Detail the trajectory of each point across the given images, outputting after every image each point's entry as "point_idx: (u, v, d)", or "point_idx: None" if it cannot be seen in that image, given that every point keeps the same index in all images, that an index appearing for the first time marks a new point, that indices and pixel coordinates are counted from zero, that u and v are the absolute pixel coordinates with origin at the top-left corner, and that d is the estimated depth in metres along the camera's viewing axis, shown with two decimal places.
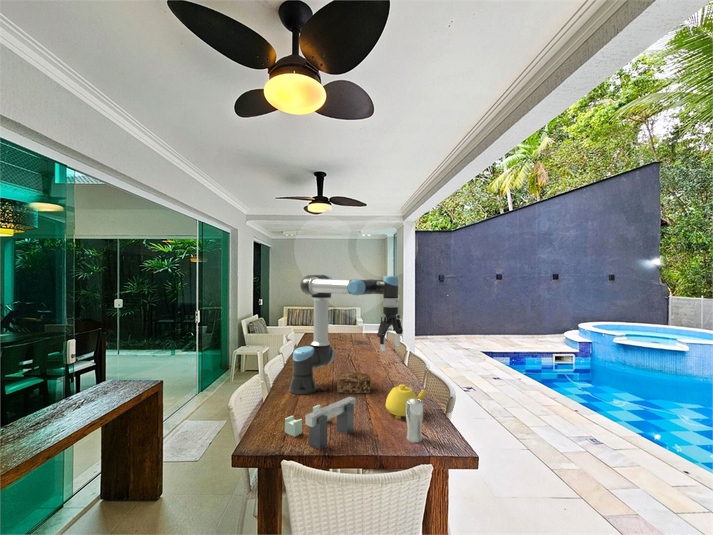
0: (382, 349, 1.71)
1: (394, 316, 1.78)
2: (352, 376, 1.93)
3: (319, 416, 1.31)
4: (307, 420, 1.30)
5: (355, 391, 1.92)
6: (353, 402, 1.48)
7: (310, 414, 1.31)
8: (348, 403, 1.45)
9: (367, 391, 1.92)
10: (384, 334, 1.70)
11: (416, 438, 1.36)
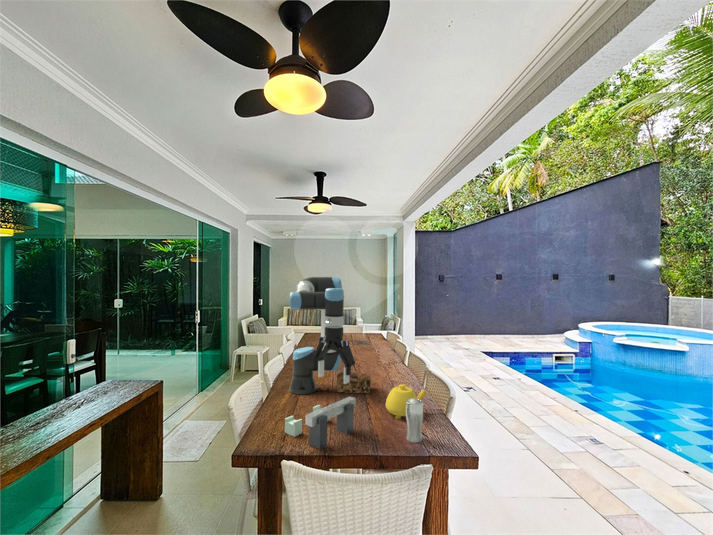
0: None
1: (335, 340, 1.38)
2: (352, 376, 1.93)
3: (319, 416, 1.31)
4: (307, 420, 1.30)
5: (355, 391, 1.92)
6: (353, 402, 1.48)
7: (310, 414, 1.31)
8: (348, 403, 1.45)
9: (367, 391, 1.92)
10: (318, 357, 1.44)
11: (416, 438, 1.36)
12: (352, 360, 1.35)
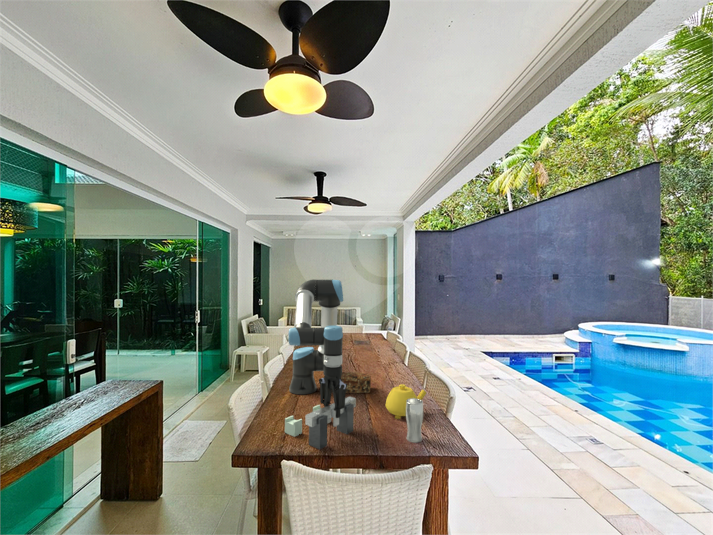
0: None
1: (335, 378, 1.38)
2: (352, 376, 1.94)
3: (319, 416, 1.31)
4: (307, 420, 1.30)
5: (355, 391, 1.92)
6: (353, 402, 1.48)
7: (310, 414, 1.31)
8: (348, 403, 1.45)
9: (367, 391, 1.92)
10: (324, 402, 1.41)
11: (416, 438, 1.36)
12: (343, 404, 1.36)
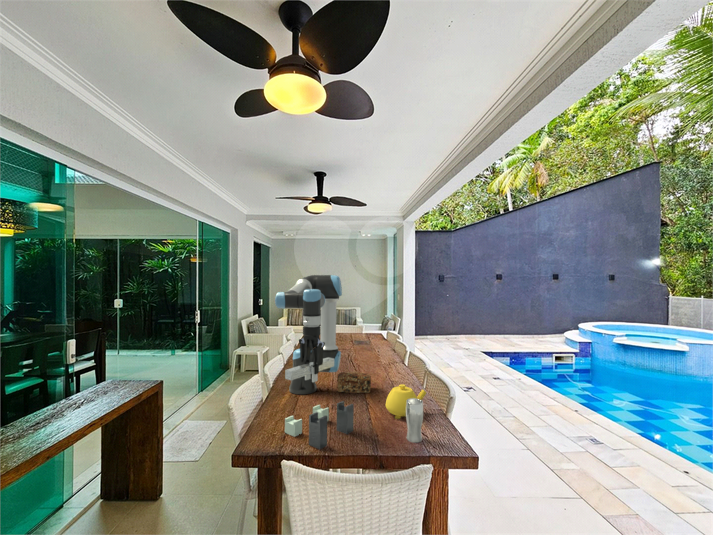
0: None
1: (313, 337, 1.47)
2: (352, 376, 1.94)
3: (298, 371, 1.41)
4: (287, 374, 1.39)
5: (355, 391, 1.93)
6: (331, 362, 1.57)
7: (289, 369, 1.41)
8: (326, 362, 1.55)
9: (367, 391, 1.93)
10: (304, 360, 1.50)
11: (416, 438, 1.36)
12: (321, 361, 1.46)
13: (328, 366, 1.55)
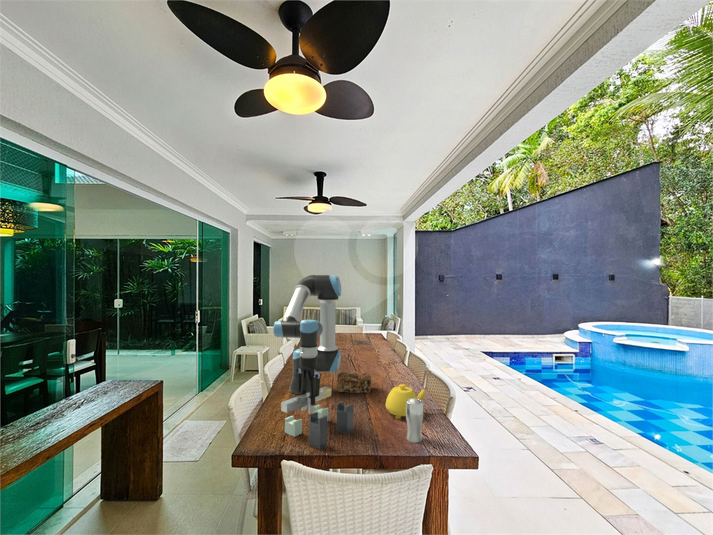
0: None
1: (310, 368, 1.48)
2: (352, 376, 1.94)
3: (294, 403, 1.41)
4: (283, 407, 1.40)
5: (355, 391, 1.93)
6: (328, 391, 1.58)
7: (286, 401, 1.41)
8: (323, 392, 1.55)
9: (367, 391, 1.93)
10: (300, 391, 1.51)
11: (416, 438, 1.36)
12: (317, 392, 1.47)
13: (325, 396, 1.56)
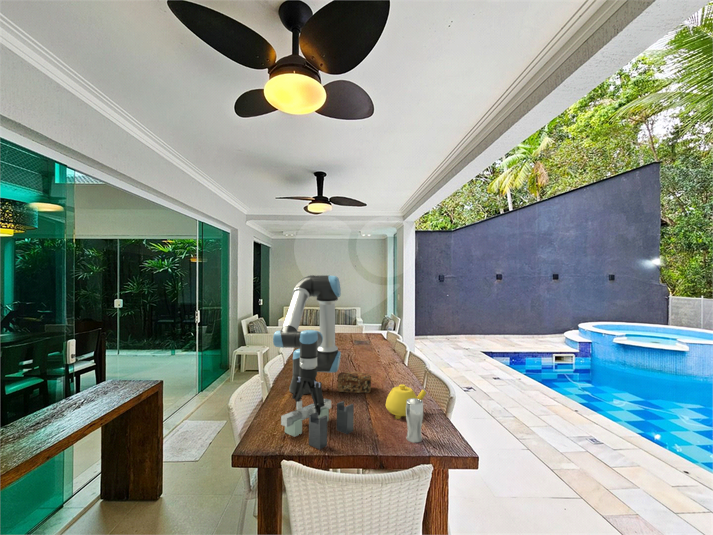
0: None
1: (309, 380, 1.48)
2: (353, 375, 1.94)
3: (294, 417, 1.41)
4: (282, 421, 1.40)
5: (356, 390, 1.93)
6: (328, 404, 1.57)
7: (285, 415, 1.41)
8: None
9: (367, 391, 1.93)
10: (296, 397, 1.52)
11: (416, 438, 1.36)
12: (322, 402, 1.45)
13: None
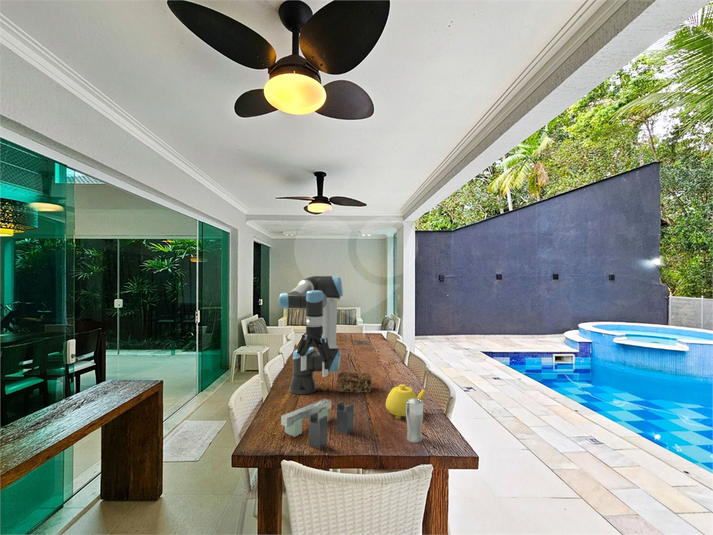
0: None
1: (315, 338, 1.53)
2: (353, 375, 1.94)
3: (294, 417, 1.41)
4: (282, 421, 1.40)
5: (356, 390, 1.93)
6: (328, 404, 1.57)
7: (285, 415, 1.41)
8: (323, 405, 1.55)
9: (368, 390, 1.93)
10: (300, 352, 1.59)
11: (416, 438, 1.36)
12: (330, 356, 1.49)
13: None
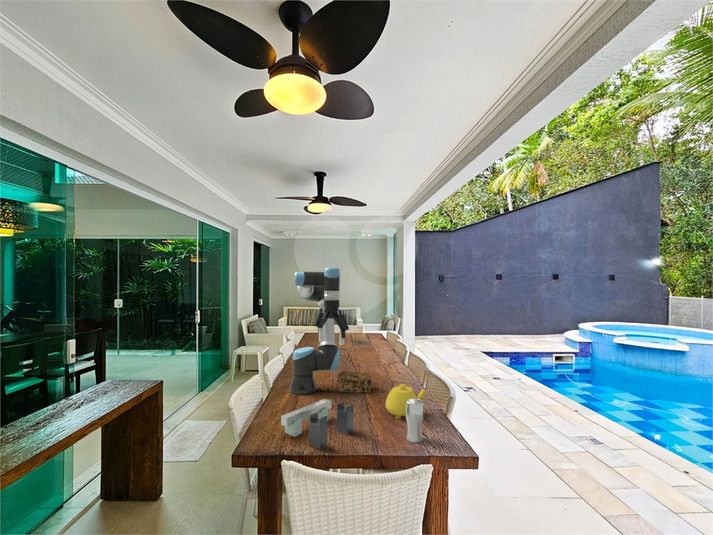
0: None
1: (333, 310, 1.69)
2: (353, 375, 1.94)
3: (294, 417, 1.41)
4: (282, 421, 1.40)
5: (356, 390, 1.93)
6: (328, 404, 1.57)
7: (285, 415, 1.41)
8: (323, 405, 1.55)
9: (368, 390, 1.93)
10: (318, 325, 1.74)
11: (416, 438, 1.36)
12: (346, 326, 1.65)
13: None
